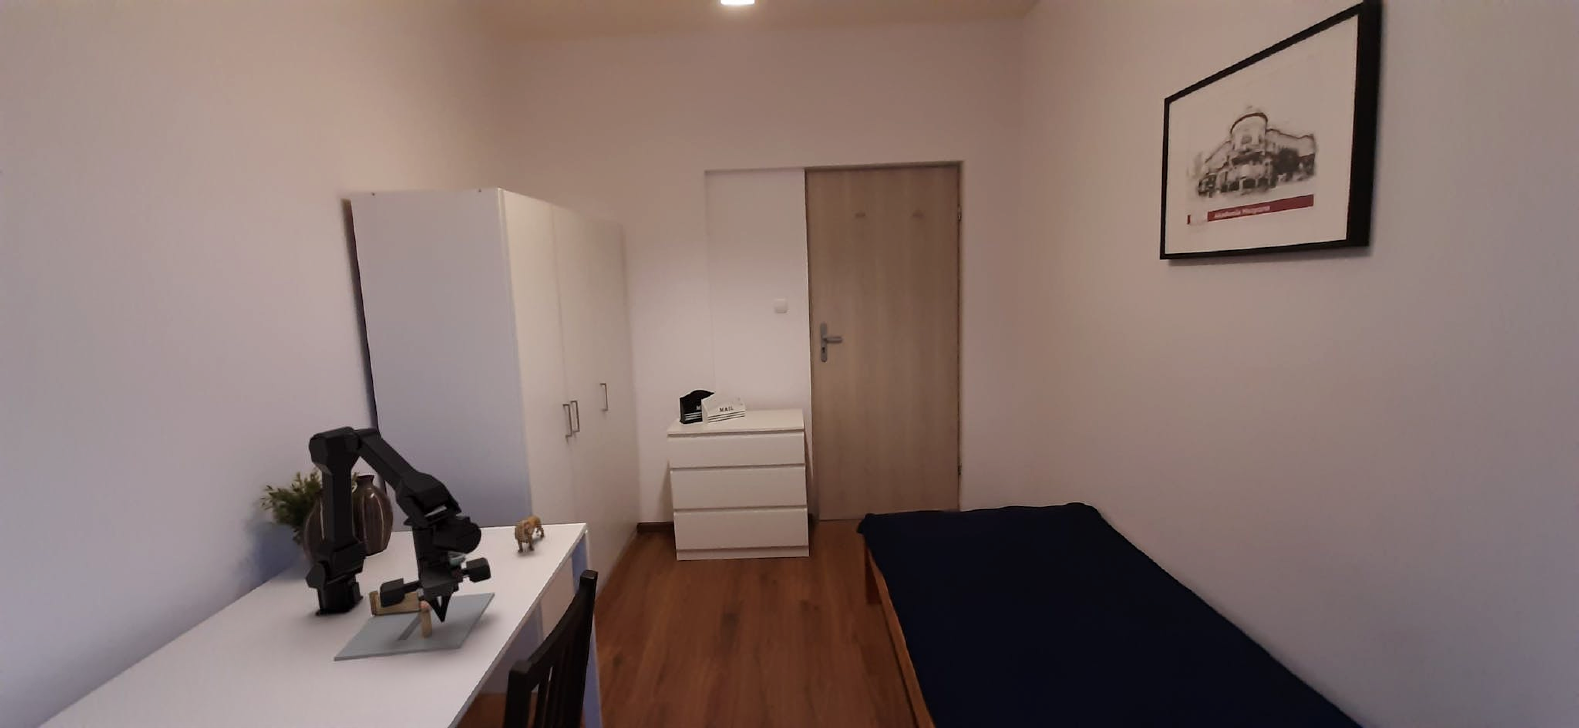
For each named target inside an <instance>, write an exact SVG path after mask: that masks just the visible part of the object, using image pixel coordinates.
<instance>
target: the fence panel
mask: <svg viewBox="0 0 1579 728" xmlns="http://www.w3.org/2000/svg"><path fill="white" fill-rule="evenodd" d="M421 610H422V612H421V613H420V616H421V624H422V632H423V636H429V635H431V634H432V626H431V618H430V605H429V604H428V603H427V602H426V601H421Z"/></svg>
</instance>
